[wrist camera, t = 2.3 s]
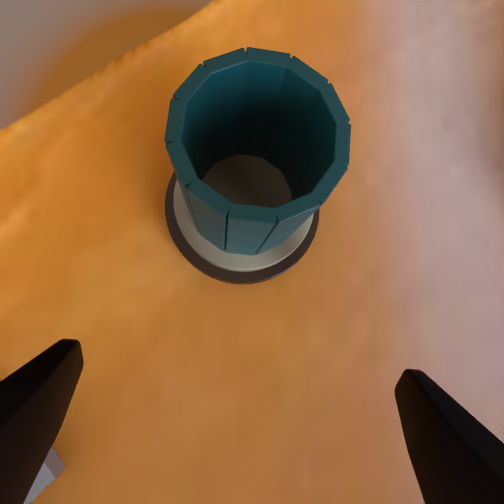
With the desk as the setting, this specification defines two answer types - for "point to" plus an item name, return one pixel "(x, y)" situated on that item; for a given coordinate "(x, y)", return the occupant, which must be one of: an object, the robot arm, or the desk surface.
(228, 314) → the desk surface
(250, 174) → the stack
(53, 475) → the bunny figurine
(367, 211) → the desk surface
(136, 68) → the desk surface
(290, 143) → the teal cup
